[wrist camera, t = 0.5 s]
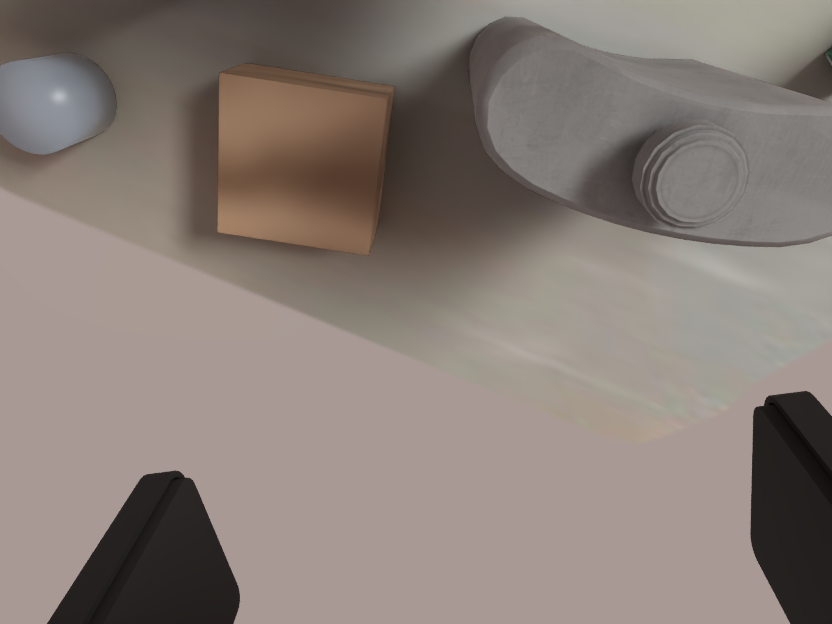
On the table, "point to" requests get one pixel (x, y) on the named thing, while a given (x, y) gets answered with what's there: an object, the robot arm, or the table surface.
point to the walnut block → (301, 157)
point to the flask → (653, 139)
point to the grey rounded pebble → (54, 102)
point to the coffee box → (829, 56)
